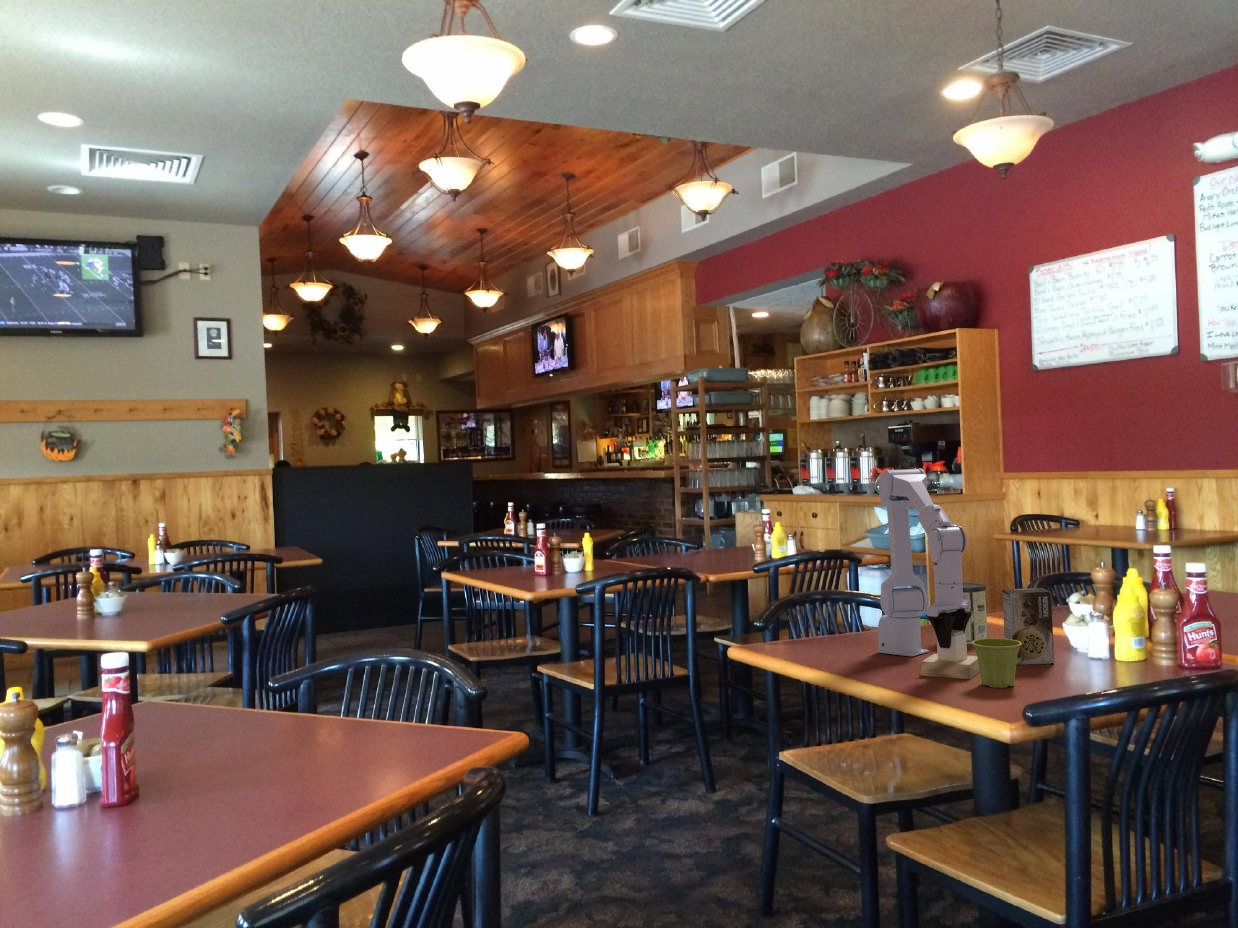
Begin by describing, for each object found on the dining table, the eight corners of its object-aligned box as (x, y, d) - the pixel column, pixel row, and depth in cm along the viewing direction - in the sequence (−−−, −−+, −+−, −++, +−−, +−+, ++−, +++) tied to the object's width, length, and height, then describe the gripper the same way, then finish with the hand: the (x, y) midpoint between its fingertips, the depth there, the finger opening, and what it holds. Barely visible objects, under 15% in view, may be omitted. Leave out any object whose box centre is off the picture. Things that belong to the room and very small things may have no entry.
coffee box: (1045, 658, 225) (1042, 587, 225) (1055, 664, 219) (1052, 590, 219) (1004, 659, 226) (1001, 588, 226) (1012, 664, 220) (1009, 591, 220)
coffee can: (950, 636, 258) (948, 582, 258) (992, 638, 253) (989, 583, 253) (940, 643, 249) (938, 586, 250) (982, 645, 244) (980, 588, 244)
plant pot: (1025, 690, 195) (1023, 646, 195) (974, 689, 198) (972, 645, 198) (1020, 680, 204) (1019, 638, 204) (972, 679, 207) (970, 637, 207)
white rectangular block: (937, 659, 214) (936, 631, 214) (948, 656, 217) (947, 628, 217) (956, 661, 210) (955, 633, 210) (967, 658, 213) (965, 630, 213)
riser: (921, 675, 212) (921, 661, 212) (934, 666, 221) (934, 653, 221) (970, 679, 207) (969, 664, 207) (981, 670, 215) (981, 656, 215)
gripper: (947, 587, 206) (950, 653, 206) (982, 580, 216) (985, 643, 216) (917, 585, 211) (919, 649, 211) (952, 578, 221) (955, 639, 221)
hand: (950, 646), depth 214 cm, fingers closed on white rectangular block, 4 cm apart
